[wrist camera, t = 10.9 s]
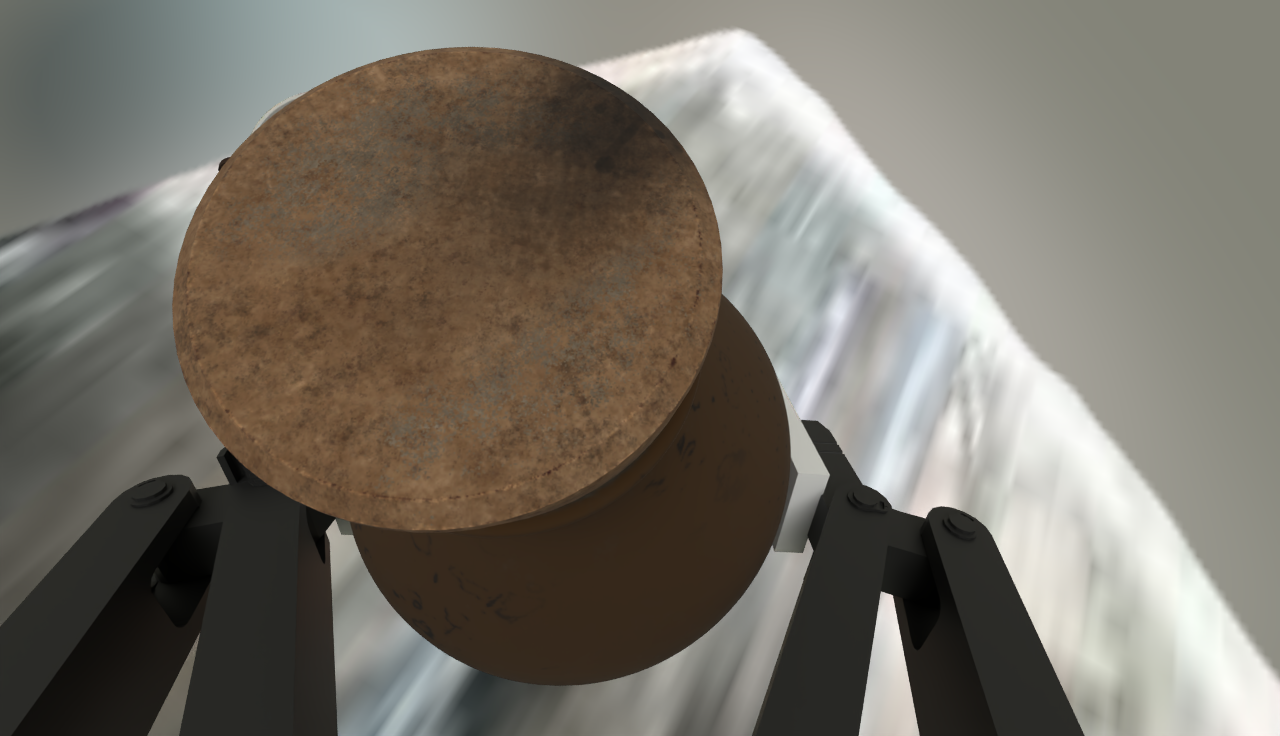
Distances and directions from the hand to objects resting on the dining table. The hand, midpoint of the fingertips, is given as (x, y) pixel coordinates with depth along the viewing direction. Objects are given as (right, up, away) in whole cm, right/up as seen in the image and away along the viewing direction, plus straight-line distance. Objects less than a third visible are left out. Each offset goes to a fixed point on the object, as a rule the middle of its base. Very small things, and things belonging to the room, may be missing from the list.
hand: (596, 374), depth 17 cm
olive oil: (-1, -6, +10) cm, 12 cm away
